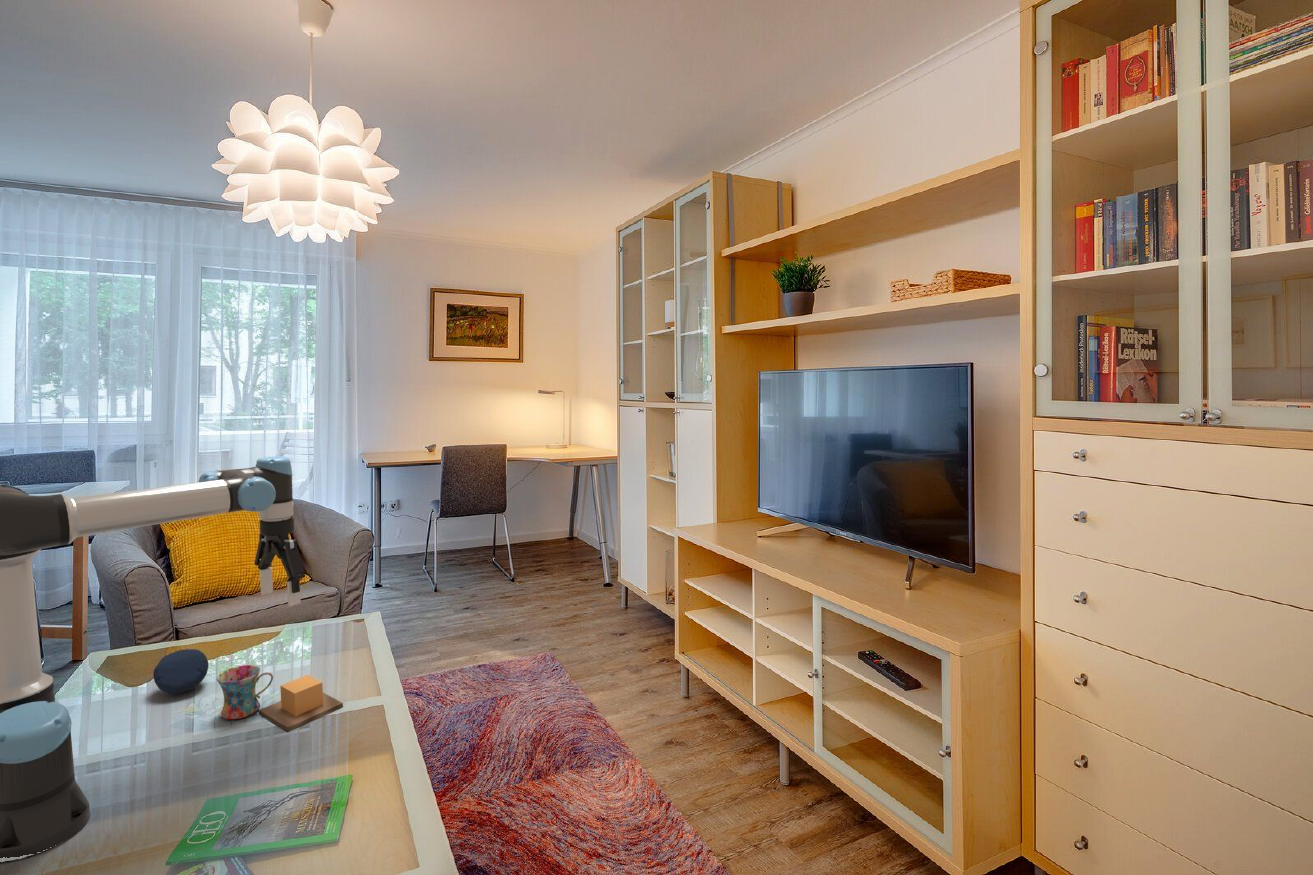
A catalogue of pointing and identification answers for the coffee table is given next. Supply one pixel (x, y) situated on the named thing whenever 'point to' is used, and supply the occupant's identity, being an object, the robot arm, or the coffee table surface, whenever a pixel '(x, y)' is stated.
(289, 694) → the tan cardboard box
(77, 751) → the coffee table surface
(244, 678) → the mug
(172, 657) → the decorative stone
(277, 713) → the post board
